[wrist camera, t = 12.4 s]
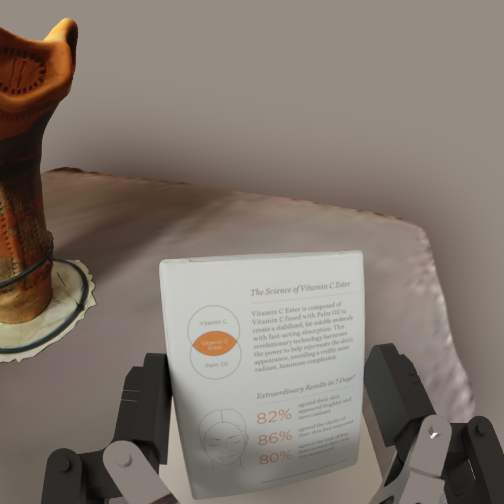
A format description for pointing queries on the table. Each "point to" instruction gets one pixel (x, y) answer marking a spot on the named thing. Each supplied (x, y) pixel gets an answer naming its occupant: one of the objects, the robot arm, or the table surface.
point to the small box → (265, 366)
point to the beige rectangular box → (289, 496)
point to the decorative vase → (33, 197)
